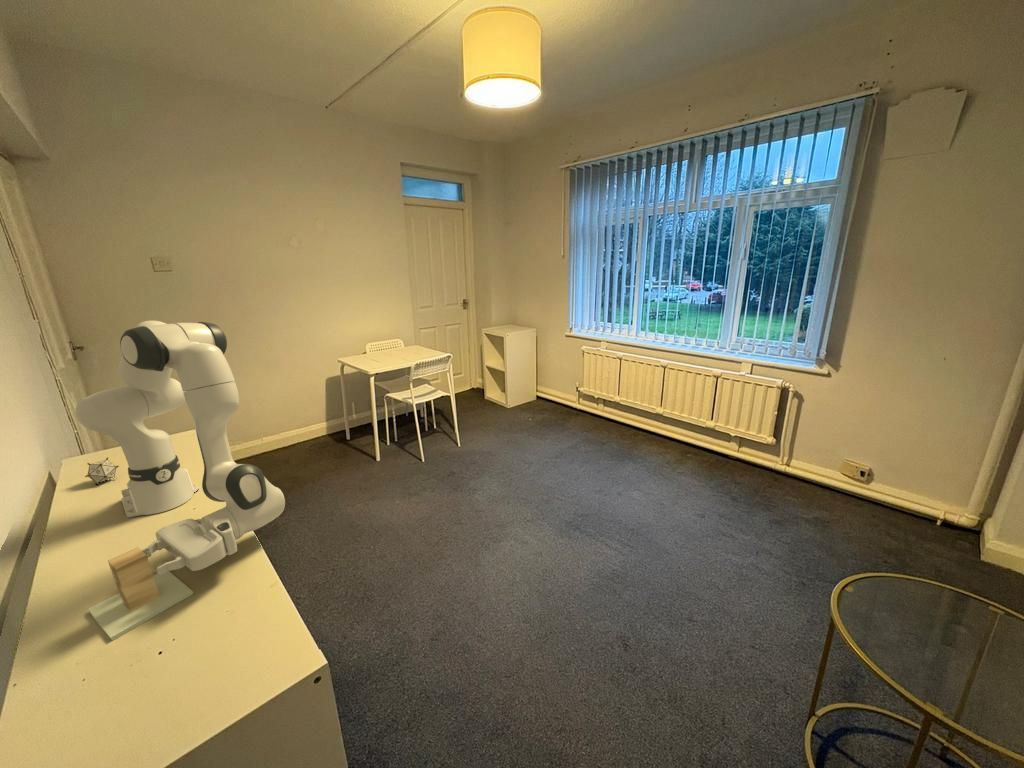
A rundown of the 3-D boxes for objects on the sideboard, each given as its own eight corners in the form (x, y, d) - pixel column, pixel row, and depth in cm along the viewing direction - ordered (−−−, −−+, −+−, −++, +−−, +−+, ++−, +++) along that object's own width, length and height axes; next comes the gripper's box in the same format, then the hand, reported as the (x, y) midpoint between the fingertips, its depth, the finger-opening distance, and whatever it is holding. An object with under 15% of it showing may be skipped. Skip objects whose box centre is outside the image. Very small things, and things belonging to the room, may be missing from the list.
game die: (111, 488, 148) (122, 460, 151) (115, 486, 142) (126, 458, 146) (77, 485, 142) (89, 456, 145) (79, 483, 136) (91, 453, 140)
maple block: (122, 602, 90) (107, 560, 87) (151, 587, 94) (137, 547, 91) (131, 612, 87) (115, 569, 84) (160, 596, 91) (146, 554, 88)
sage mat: (89, 612, 89) (87, 609, 88) (167, 571, 100) (166, 569, 100) (111, 640, 82) (110, 637, 81) (193, 593, 93) (192, 591, 93)
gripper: (195, 507, 106) (126, 536, 95) (234, 531, 96) (162, 567, 85) (201, 528, 108) (134, 559, 97) (240, 554, 98) (170, 592, 86)
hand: (147, 563), depth 91 cm, fingers open, 8 cm apart
